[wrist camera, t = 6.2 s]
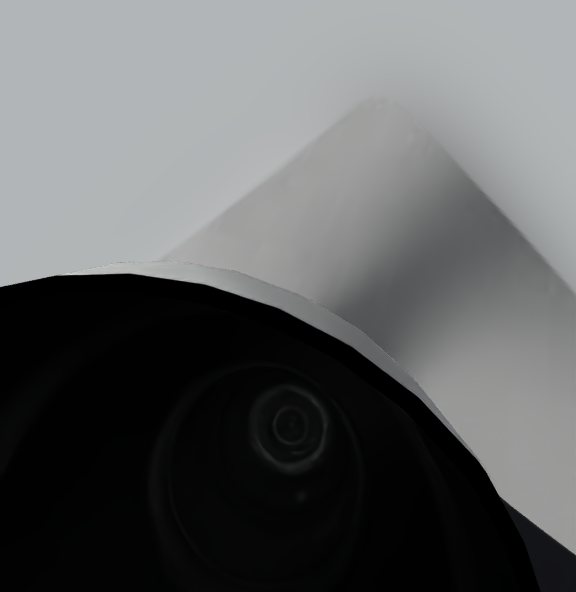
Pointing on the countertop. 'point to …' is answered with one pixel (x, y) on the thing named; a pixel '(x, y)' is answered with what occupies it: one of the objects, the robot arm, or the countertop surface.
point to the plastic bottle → (227, 447)
